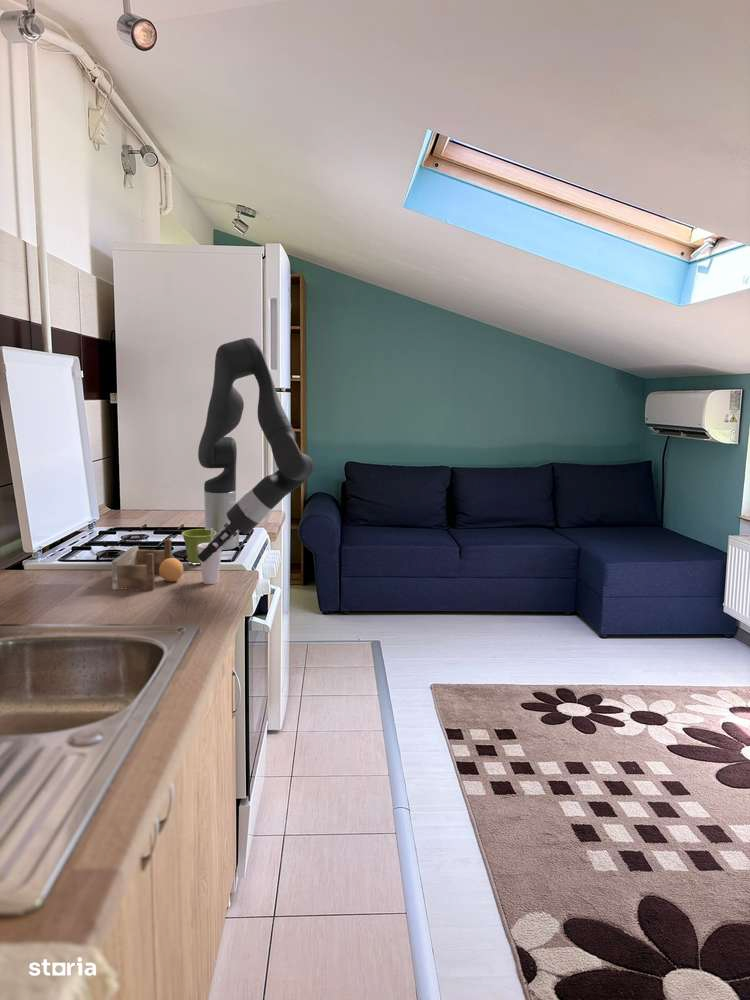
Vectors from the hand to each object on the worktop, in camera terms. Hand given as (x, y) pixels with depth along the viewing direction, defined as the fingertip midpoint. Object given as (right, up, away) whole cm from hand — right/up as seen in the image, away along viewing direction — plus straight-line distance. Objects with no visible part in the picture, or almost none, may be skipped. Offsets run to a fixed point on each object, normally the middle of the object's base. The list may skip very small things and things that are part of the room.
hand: (203, 555), depth 205 cm
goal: (-15, -6, +1) cm, 17 cm away
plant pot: (-5, -4, +20) cm, 21 cm away
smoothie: (+1, -7, +1) cm, 7 cm away
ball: (-8, -4, +1) cm, 9 cm away
